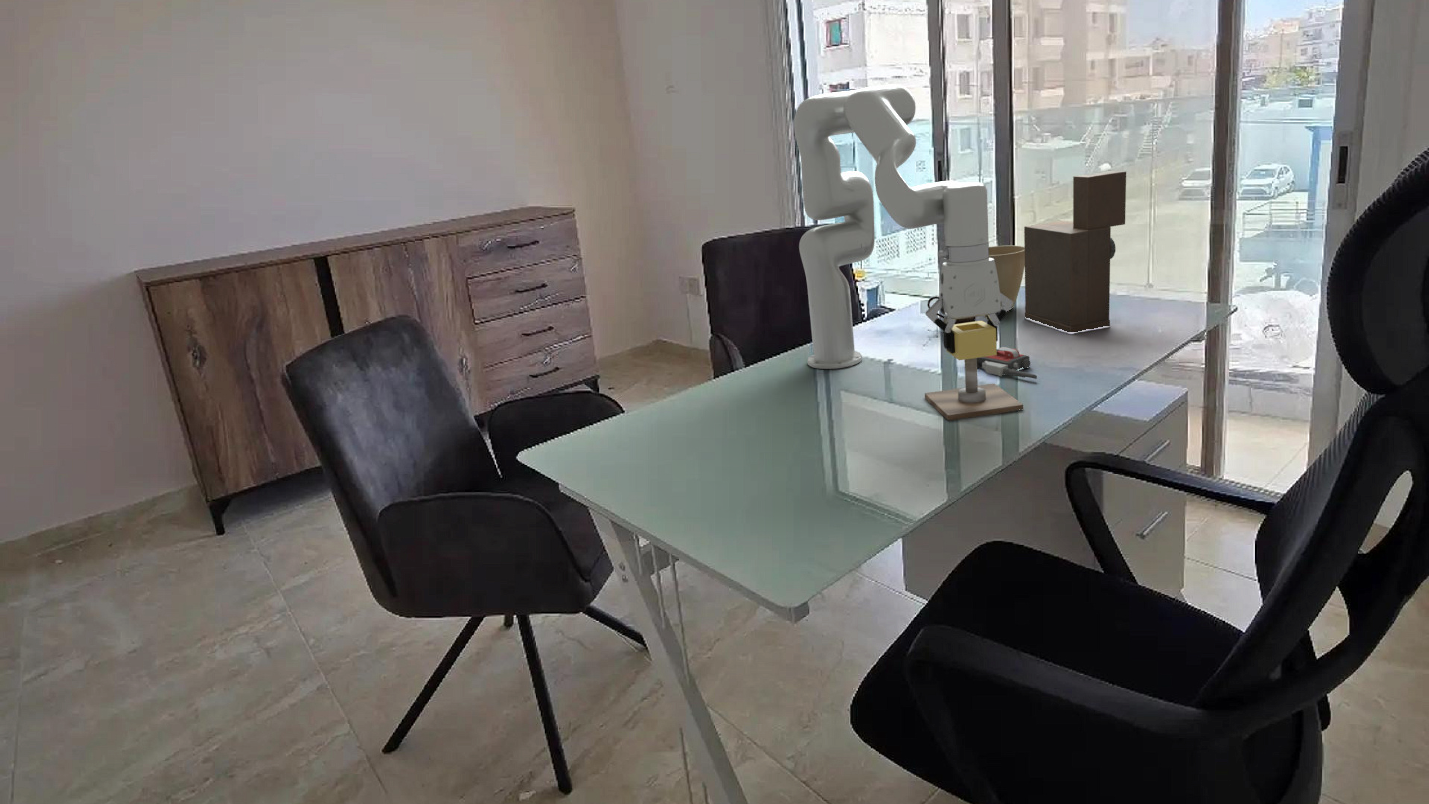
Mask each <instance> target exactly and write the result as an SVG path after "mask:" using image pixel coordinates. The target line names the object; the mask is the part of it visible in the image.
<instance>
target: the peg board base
mask: <svg viewBox="0 0 1429 804" xmlns="http://www.w3.org/2000/svg"><path fill="white" fill-rule="evenodd" d="M964 361H965V362H964V380H965V387H959V388H953V389H952V388H951V389H946V390H945V389H944V390H938V391H932V392H931V391H930V392H924V399H926V401H927V402H928V403H929V404H931V406H933V408H934V409H935V410H936V411H937V412H939V413H940V414H941V415H942V416H943V417H944V419H946V420H947V421H955V420H961V419H968V418H975V417H982V416H983V417H984V416H988V415H996V414H1005V413H1010V412H1009V411H1012V412H1015V411H1014V410H1019V409H1023V410H1024V404H1023V403H1021V402H1020V401H1019V400H1017V398H1015V397H1013V396H1012V395H1011V394H1009V393H1008V392H1006V391H1005V390H1004V389H1002V388H1001V387H999V385H997V384H995V383H987V384H981V385H978V367H977V358H972V359H965V360H964ZM1019 411H1020V410H1019Z"/></svg>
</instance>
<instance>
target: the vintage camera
mask: <svg viewBox="0 0 1429 804" xmlns="http://www.w3.org/2000/svg"><path fill="white" fill-rule="evenodd" d="M1072 177H1073V178H1072V179H1073V180H1072V181H1073V185H1072V186H1073V187H1072V188H1073V189H1072V190H1073V193H1072V194H1073V196H1072V197H1073V199H1072V200H1073V202H1072V205H1073V206H1072V218H1073V219H1072V221H1068V220H1067V221H1066V220H1058V221H1051V222H1044V223H1038V224H1033V225H1026V226H1024V227H1023V229H1024V230H1023V233H1024V235H1023V237H1024V245H1023V247H1025V267H1024V298H1025V300H1024V304H1025V305H1024V307H1025V308H1024V310H1025V312H1024V318H1025V317H1026V318H1030V319H1032V320H1035V321H1039V322H1041V323H1043V324H1047V325H1049V326H1053V327H1055V328H1057V329H1062V330H1064V331H1067V332H1078V331H1082V330H1086V329H1094V328H1098V327H1103V326H1110V327H1111V319H1110V295H1111V294H1110V293H1111V292H1110V291H1111V284H1110V283H1111V260H1112V258H1114V257H1115V253H1116V249H1117V248H1116V243H1115V241H1114V239H1113V237H1111V236H1112V235H1111V234H1112V233H1111V229H1112V228H1111V227H1117V226H1123V225H1126V202H1127V201H1126V200H1127V199H1126V197H1127V170H1126V171H1123V170H1122V171H1121V170H1107V171H1101V172H1093V173H1087V174H1082V175H1074V176H1072Z"/></svg>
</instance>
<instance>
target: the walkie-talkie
mask: <svg viewBox="0 0 1429 804" xmlns="http://www.w3.org/2000/svg"><path fill="white" fill-rule="evenodd" d="M1030 359H1031V358H1030V356H1029V355H1026V354H1023V353H1020V351H1019V350H1018V349H1016V348H1010V347H1005V346H1002V347H999V348H998V347H997V355H993V356H986V357H979V358H977V369H979V368H980V369H984V371H985V373H986V374H990V375H994V376H999V377H1003V376H1002V375H1004V374H1006V375H1007V376H1009V375H1010V376H1015V377H1018V378H1019V377H1020V378H1030V379H1035V380H1037V379H1038V376H1037V375H1036V374H1034V373H1028V372H1025V371H1016V370H1017V369H1020V368H1022V367H1023V368H1027V367H1029V366H1031V360H1030ZM963 362H964V363H965V360H963ZM1029 368H1030V367H1029ZM1006 375H1004V376H1006Z"/></svg>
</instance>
